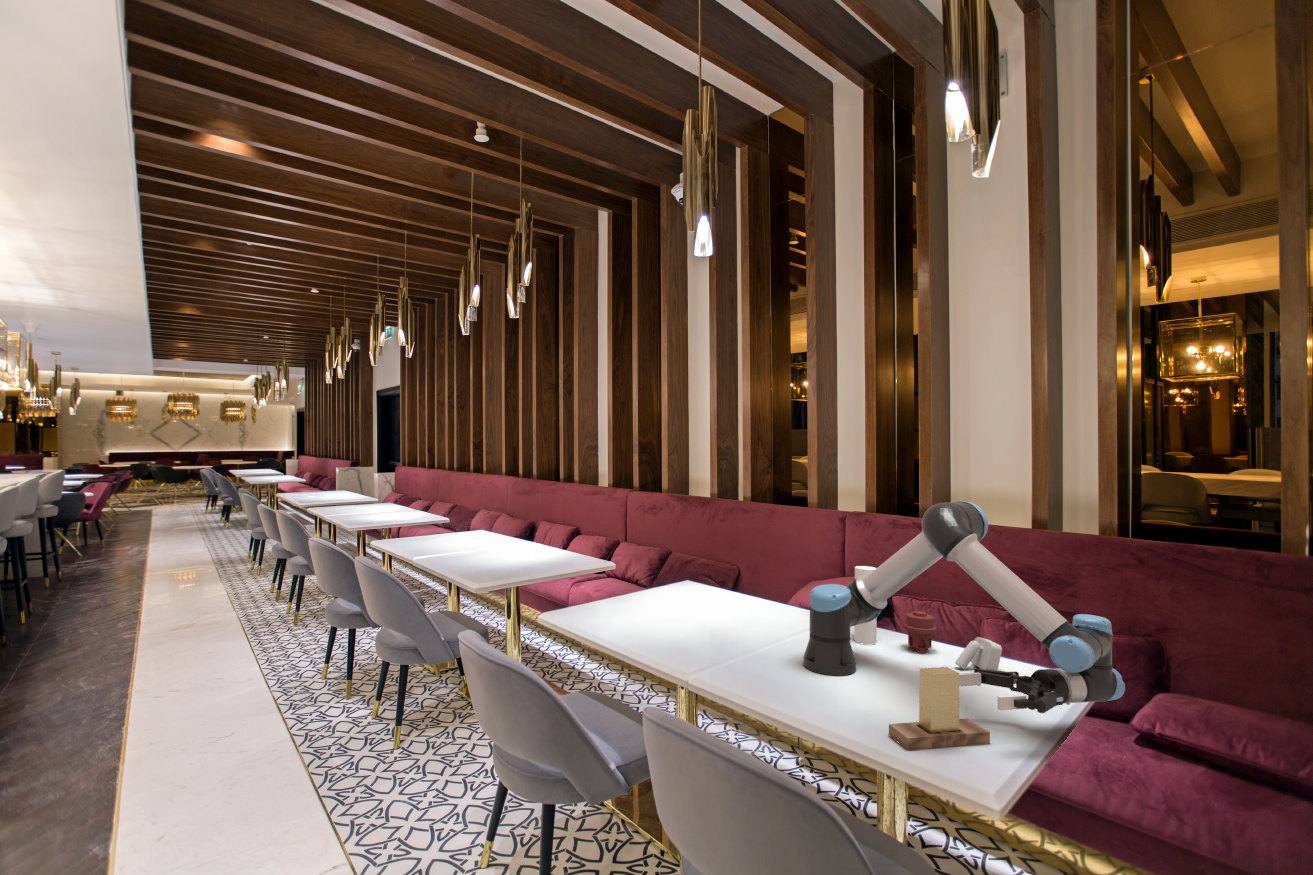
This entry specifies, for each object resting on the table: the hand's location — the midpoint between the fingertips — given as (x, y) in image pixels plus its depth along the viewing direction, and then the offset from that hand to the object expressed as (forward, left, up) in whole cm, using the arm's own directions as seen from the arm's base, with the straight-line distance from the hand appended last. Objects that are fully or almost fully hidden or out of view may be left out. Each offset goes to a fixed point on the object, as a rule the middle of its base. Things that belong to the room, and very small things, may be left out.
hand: (976, 690), depth 135 cm
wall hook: (+4, +51, -10) cm, 52 cm away
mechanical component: (-11, +63, -10) cm, 65 cm away
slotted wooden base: (-8, -5, -10) cm, 14 cm away
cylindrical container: (-28, +65, -10) cm, 71 cm away
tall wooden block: (-8, -5, -10) cm, 14 cm away
